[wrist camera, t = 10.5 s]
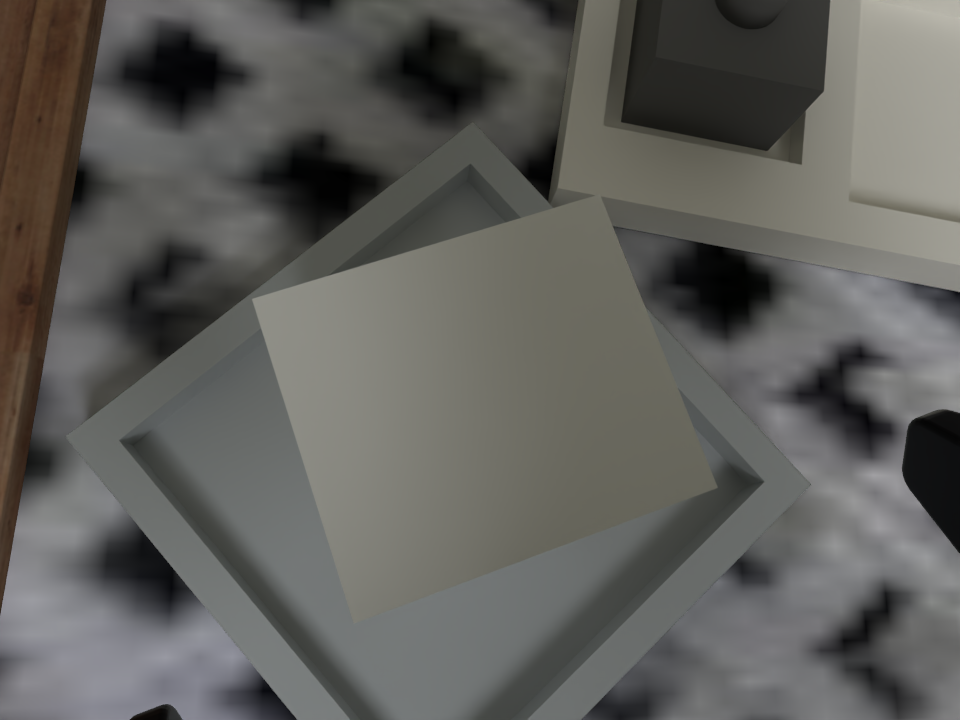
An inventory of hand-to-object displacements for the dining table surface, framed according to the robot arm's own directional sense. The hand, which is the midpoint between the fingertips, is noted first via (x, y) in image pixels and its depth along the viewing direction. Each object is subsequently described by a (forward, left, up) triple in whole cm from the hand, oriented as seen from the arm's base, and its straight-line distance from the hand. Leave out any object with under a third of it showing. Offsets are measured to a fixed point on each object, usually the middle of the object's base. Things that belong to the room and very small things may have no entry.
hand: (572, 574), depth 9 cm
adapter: (+2, -1, -10) cm, 11 cm away
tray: (+2, -1, -11) cm, 11 cm away
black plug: (+6, -13, -10) cm, 17 cm away
